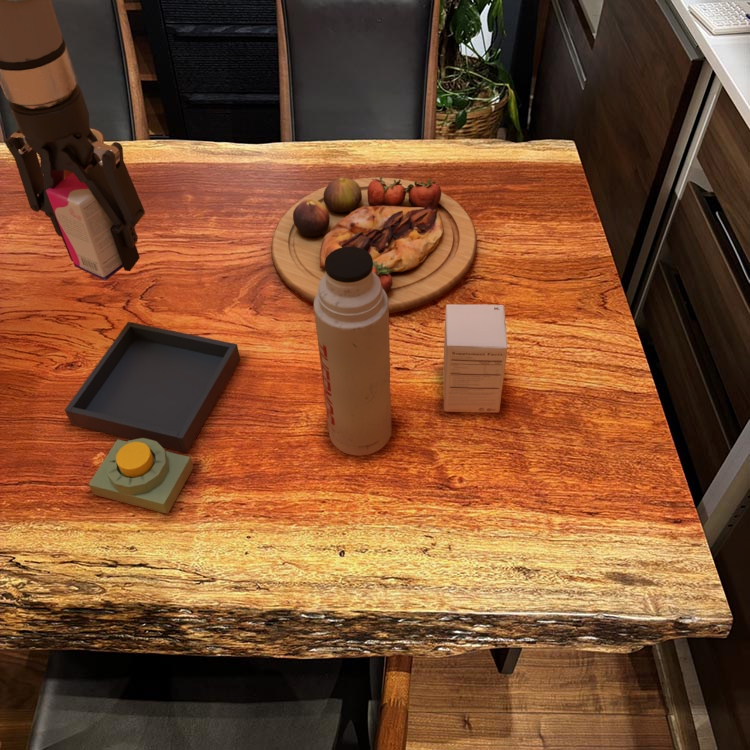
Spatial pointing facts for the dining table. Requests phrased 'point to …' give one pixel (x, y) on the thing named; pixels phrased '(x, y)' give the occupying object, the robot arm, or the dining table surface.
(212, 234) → the dining table surface
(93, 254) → the supplement box
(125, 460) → the button
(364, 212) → the wooden plate
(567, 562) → the dining table surface
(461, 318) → the white packaging box
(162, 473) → the control block
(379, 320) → the thermos bottle
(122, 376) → the tray
